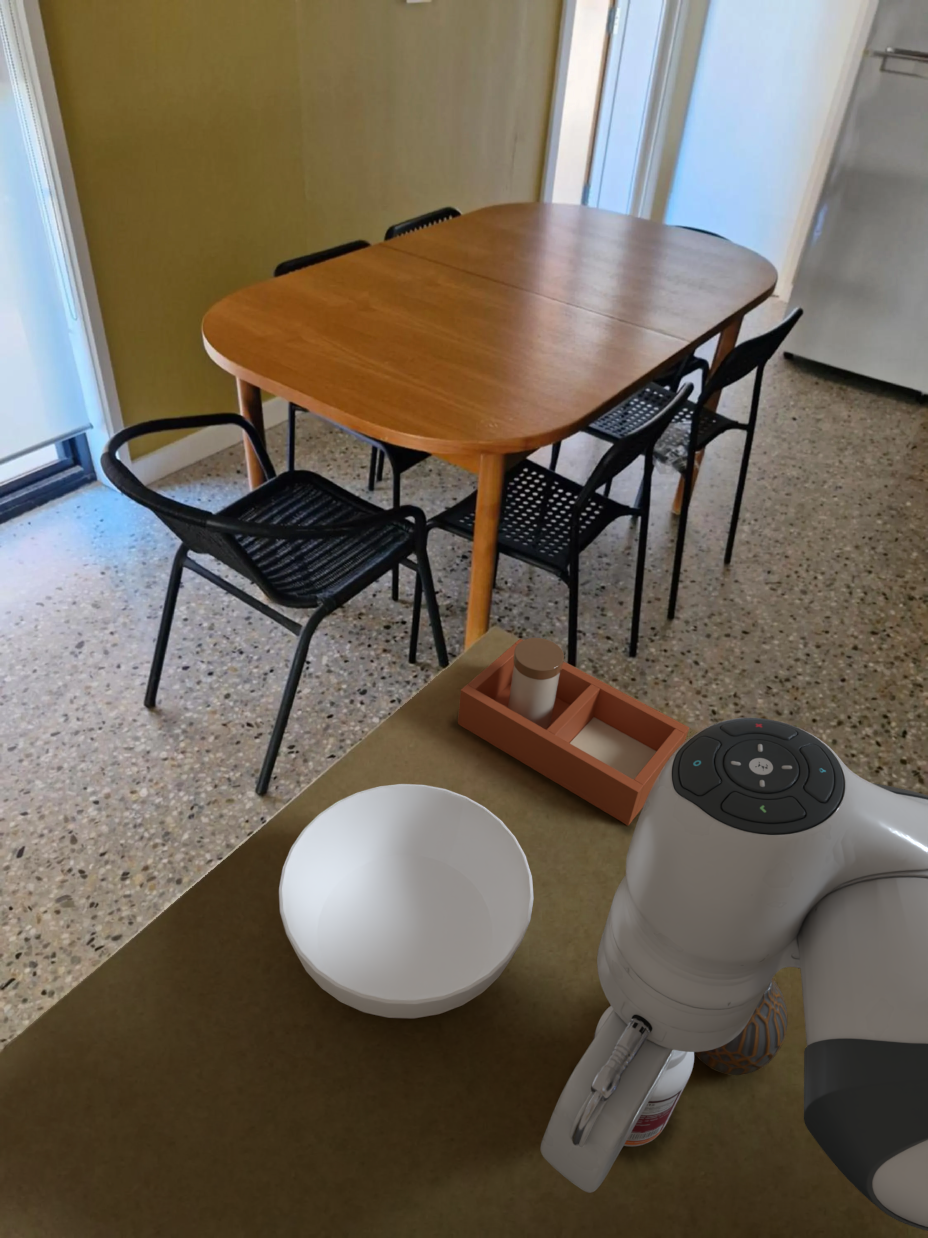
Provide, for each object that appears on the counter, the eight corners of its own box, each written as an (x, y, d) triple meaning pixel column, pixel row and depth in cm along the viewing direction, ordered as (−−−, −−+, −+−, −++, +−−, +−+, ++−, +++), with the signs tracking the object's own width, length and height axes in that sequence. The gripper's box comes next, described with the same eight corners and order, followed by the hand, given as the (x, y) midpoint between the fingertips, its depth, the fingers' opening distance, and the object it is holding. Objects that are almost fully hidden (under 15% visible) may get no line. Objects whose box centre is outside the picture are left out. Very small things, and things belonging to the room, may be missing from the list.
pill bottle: (609, 1036, 64) (638, 953, 57) (684, 1097, 61) (725, 1017, 54) (558, 1104, 60) (583, 1024, 53) (636, 1172, 57) (673, 1098, 50)
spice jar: (549, 700, 89) (561, 638, 84) (554, 733, 85) (566, 671, 80) (504, 699, 89) (512, 636, 84) (507, 732, 85) (516, 669, 80)
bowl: (233, 978, 65) (223, 923, 60) (368, 807, 78) (368, 751, 73) (453, 1107, 59) (460, 1057, 54) (559, 899, 72) (572, 844, 67)
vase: (780, 1026, 65) (818, 962, 59) (753, 1110, 60) (792, 1050, 55) (690, 978, 67) (719, 912, 62) (658, 1055, 63) (686, 992, 57)
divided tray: (515, 671, 93) (520, 638, 90) (678, 761, 85) (689, 727, 82) (457, 724, 86) (460, 689, 84) (628, 826, 78) (638, 792, 75)
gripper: (642, 1161, 41) (594, 1258, 49) (801, 870, 54) (741, 986, 63) (529, 1073, 43) (502, 1179, 52) (706, 816, 57) (661, 935, 65)
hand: (633, 1072), depth 58 cm, fingers closed on pill bottle, 6 cm apart
